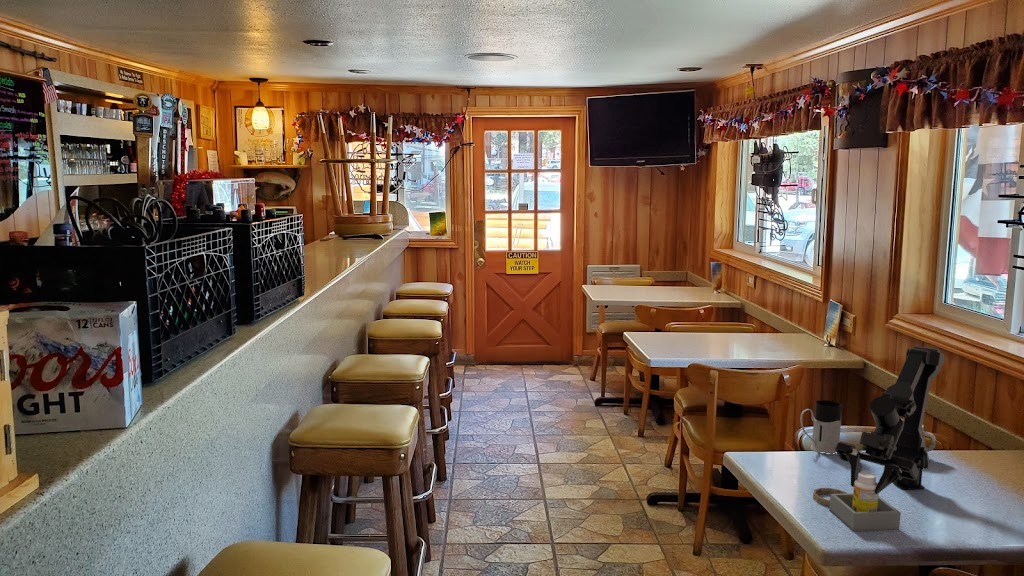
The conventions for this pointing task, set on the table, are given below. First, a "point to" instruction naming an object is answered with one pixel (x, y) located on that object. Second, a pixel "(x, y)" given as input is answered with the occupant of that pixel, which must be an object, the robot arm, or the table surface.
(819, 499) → the stud collar
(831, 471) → the table surface
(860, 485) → the supplement bottle
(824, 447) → the glass holder
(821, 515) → the table surface
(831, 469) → the table surface
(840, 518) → the bin
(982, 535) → the table surface
